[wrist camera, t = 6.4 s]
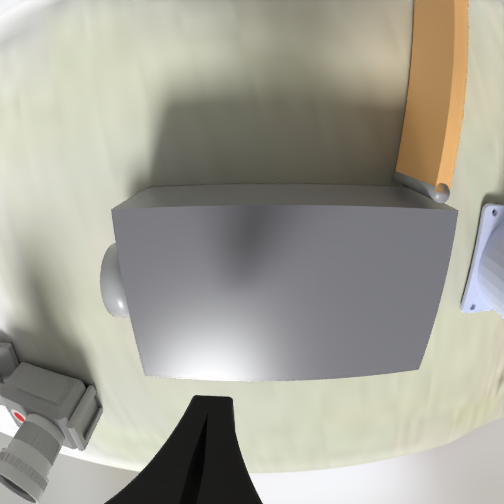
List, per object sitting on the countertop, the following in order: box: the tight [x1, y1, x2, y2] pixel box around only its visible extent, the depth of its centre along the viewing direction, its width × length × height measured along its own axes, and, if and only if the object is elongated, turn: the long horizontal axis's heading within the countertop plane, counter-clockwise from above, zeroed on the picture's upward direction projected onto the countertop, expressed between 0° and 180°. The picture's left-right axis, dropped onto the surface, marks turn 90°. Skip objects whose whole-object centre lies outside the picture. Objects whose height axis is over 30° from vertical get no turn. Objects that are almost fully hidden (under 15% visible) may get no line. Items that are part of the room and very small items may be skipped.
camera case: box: [100, 183, 458, 381], centre depth 16 cm, size 17×9×5 cm, turn 91°
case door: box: [394, 0, 469, 203], centre depth 12 cm, size 12×2×5 cm, turn 172°
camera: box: [0, 342, 103, 504], centre depth 18 cm, size 9×12×15 cm
